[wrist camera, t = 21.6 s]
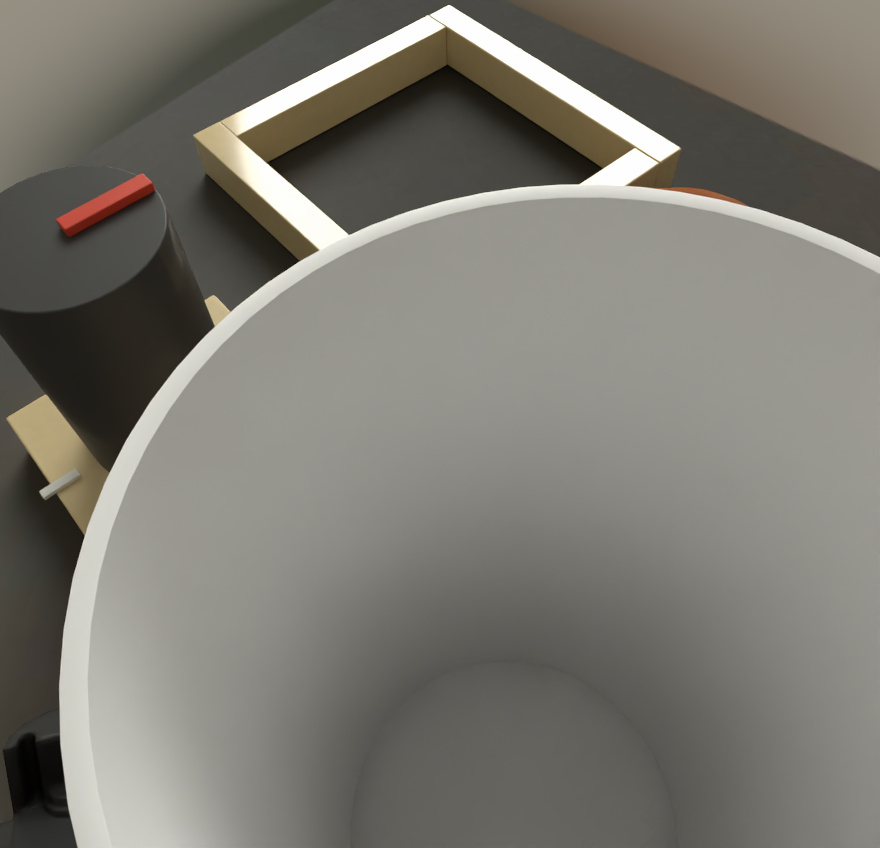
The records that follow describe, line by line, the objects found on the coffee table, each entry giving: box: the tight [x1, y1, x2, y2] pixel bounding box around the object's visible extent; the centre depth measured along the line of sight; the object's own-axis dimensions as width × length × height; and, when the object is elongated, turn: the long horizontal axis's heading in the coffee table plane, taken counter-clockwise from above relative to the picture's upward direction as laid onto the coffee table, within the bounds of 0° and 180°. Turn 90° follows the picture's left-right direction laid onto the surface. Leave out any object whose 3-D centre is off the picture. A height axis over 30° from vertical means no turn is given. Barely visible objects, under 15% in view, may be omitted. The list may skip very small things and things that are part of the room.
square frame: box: [193, 5, 681, 261], centre depth 38 cm, size 16×16×2 cm
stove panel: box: [7, 295, 230, 535], centre depth 29 cm, size 13×10×2 cm
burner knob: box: [0, 165, 215, 472], centre depth 25 cm, size 6×6×9 cm
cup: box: [59, 184, 880, 848], centre depth 13 cm, size 8×8×16 cm
